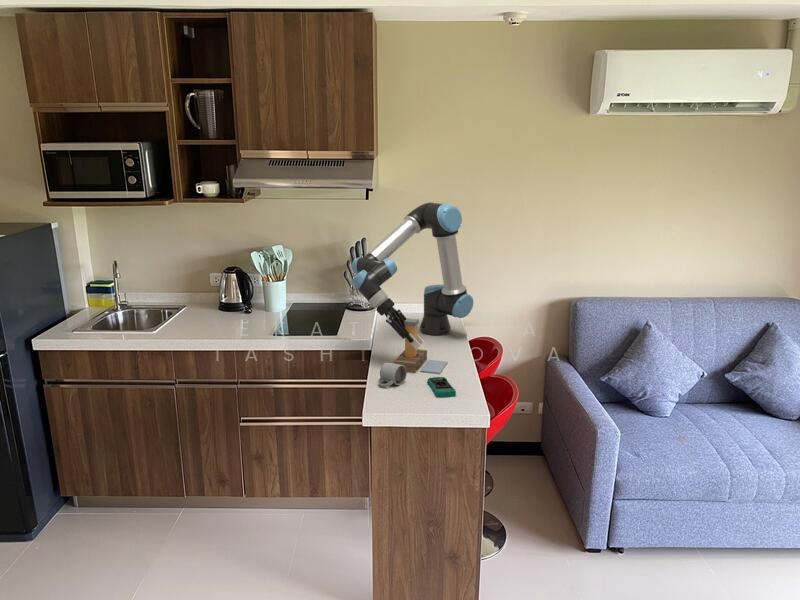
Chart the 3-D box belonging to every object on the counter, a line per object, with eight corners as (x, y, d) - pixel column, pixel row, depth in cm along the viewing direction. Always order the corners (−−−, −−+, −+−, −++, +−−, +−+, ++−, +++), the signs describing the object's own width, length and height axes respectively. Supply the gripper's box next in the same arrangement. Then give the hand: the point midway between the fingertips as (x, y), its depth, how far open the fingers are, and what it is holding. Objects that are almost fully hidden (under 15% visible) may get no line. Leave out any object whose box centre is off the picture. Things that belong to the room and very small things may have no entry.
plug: (406, 356, 250) (407, 318, 247) (418, 357, 249) (418, 319, 245) (403, 360, 246) (404, 321, 242) (414, 361, 245) (415, 322, 241)
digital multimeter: (445, 382, 230) (445, 375, 229) (456, 397, 216) (456, 389, 215) (426, 384, 229) (426, 376, 228) (436, 398, 214) (436, 391, 214)
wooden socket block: (406, 356, 258) (406, 347, 257) (426, 359, 255) (427, 350, 254) (393, 370, 241) (393, 361, 240) (415, 373, 238) (415, 363, 237)
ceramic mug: (389, 377, 234) (389, 358, 232) (407, 381, 229) (407, 362, 227) (372, 385, 225) (372, 366, 224) (390, 390, 221) (390, 371, 219)
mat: (429, 360, 253) (429, 359, 253) (447, 363, 250) (447, 361, 250) (420, 371, 240) (420, 370, 240) (439, 374, 238) (439, 372, 237)
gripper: (382, 304, 255) (419, 345, 254) (368, 313, 239) (407, 357, 238) (394, 292, 252) (431, 334, 252) (381, 301, 237) (420, 346, 236)
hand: (420, 345), depth 245 cm, fingers closed on plug, 4 cm apart
